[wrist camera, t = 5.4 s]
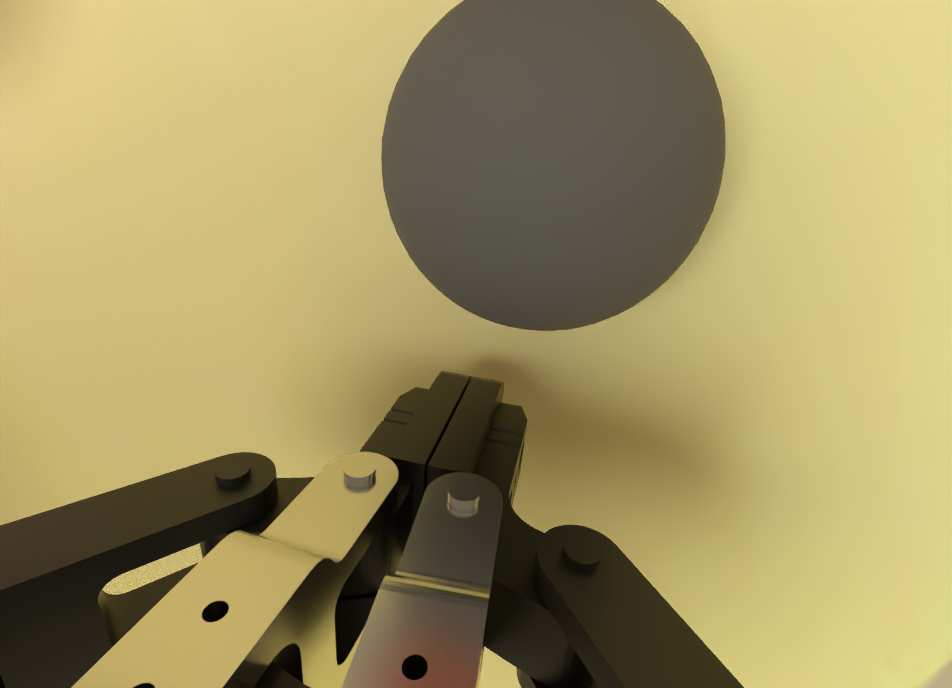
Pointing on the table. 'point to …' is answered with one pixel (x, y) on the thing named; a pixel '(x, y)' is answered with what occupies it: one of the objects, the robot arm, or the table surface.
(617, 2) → the dark gray ball
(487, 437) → the robot arm
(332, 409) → the table surface
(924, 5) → the table surface
